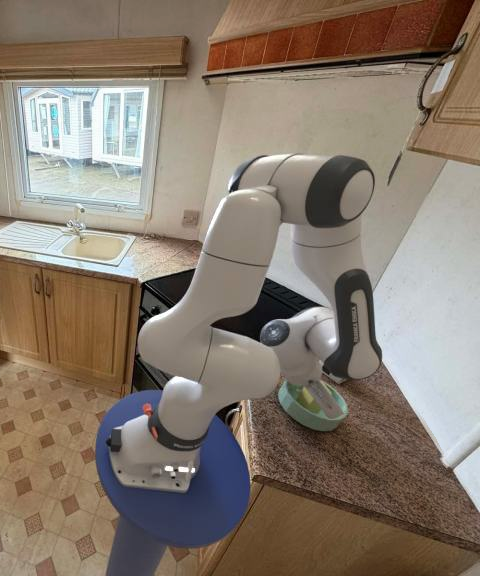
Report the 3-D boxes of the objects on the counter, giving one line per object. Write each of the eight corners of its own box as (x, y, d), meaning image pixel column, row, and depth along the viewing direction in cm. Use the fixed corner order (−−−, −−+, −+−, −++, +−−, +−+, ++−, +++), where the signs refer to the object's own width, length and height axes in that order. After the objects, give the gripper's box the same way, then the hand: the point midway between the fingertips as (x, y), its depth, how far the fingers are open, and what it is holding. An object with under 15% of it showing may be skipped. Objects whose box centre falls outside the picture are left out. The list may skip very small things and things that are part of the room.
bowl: (300, 434, 81) (309, 422, 78) (266, 387, 93) (273, 375, 90) (351, 430, 83) (362, 417, 80) (311, 385, 95) (319, 372, 92)
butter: (304, 412, 86) (317, 393, 82) (295, 399, 89) (307, 381, 85) (318, 412, 86) (332, 393, 82) (309, 399, 90) (322, 381, 85)
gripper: (340, 395, 69) (359, 423, 74) (289, 334, 86) (308, 361, 92) (312, 407, 71) (333, 433, 76) (268, 346, 88) (287, 371, 94)
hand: (319, 393), depth 84 cm, fingers open, 8 cm apart
